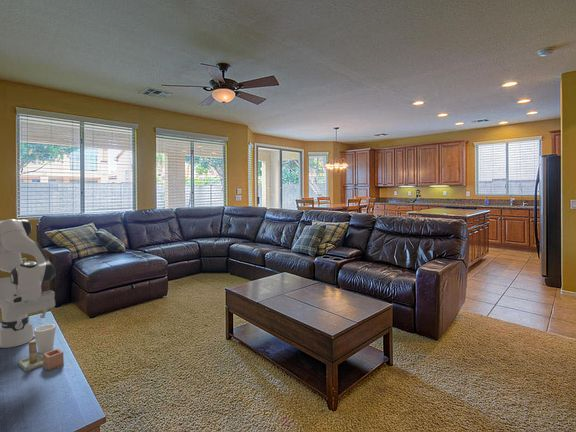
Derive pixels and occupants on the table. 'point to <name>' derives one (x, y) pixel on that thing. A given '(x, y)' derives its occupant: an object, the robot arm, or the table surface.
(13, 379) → the table surface
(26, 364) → the tray
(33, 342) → the dowel
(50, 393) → the table surface
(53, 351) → the brown hollow block
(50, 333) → the foam cup
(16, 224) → the robot arm
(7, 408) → the table surface
